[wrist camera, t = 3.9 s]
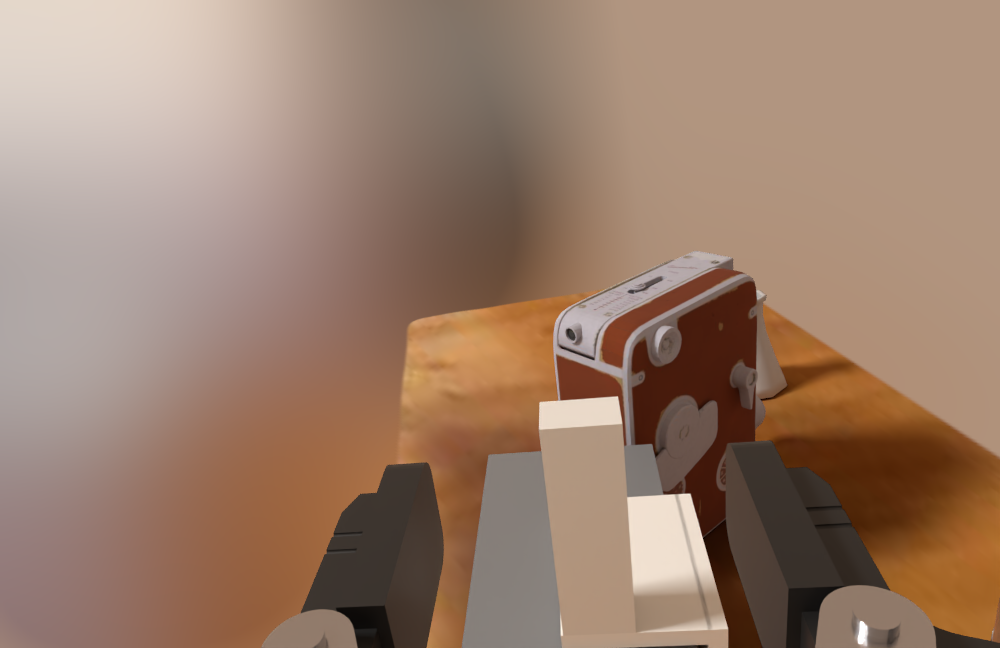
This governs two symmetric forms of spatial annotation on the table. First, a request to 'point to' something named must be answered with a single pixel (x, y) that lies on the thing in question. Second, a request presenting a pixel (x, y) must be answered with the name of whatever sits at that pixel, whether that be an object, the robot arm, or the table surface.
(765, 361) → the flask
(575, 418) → the grooved cream block
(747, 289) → the brown boxy piece
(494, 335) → the table surface
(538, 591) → the camera housing
